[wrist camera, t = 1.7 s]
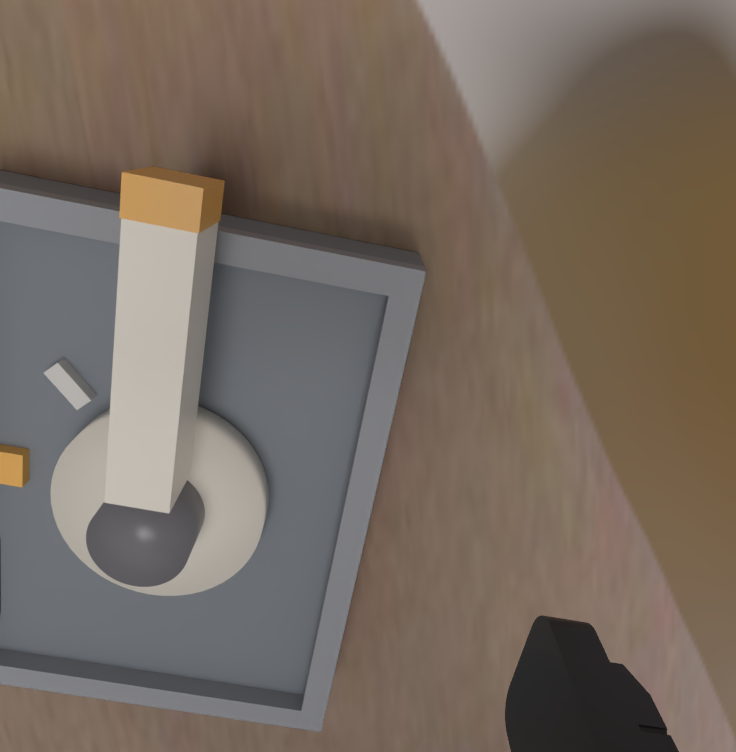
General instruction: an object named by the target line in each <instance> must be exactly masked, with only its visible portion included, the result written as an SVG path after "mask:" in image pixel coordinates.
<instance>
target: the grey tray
mask: <svg viewBox="0 0 736 752" xmlns="http://www.w3.org/2000/svg"><path fill="white" fill-rule="evenodd" d="M119 211H120V194H119V193H114V192H109V191H104V190H99V189H94V188H89V187H83V186H78V185H73V184H68V183H63V182H58V181H53V180H48V179H43V178H38V177H33V176H28V175H23V174H18V173H13V172H8V171H3V170H0V539H1V614H0V684H3V685H10V686H16V687H23V688H30V689H36V690H43V691H50V692H56V693H63V694H70V695H77V696H83V697H90V698H97V699H103V700H110V701H117V702H123V703H130V704H137V705H143V706H150V707H157V708H163V709H170V710H177V711H183V712H190V713H197V714H204V715H210V716H217V717H224V718H230V719H237V720H244V721H250V722H257V723H264V724H270V725H277V726H284V727H290V728H297V729H304V730H311V731H317V732H321V729H322V725H323V720H324V716H325V712H326V707H327V703H328V699H329V694H330V690H331V686H332V681H333V677H334V672H335V668H336V664H337V659H338V655H339V651H340V646H341V642H342V638H343V633H344V629H345V624H346V620H347V616H348V611H349V607H350V603H351V598H352V594H353V590H354V585H355V581H356V576H357V572H358V568H359V563H360V559H361V555H362V550H363V546H364V541H365V537H366V533H367V528H368V524H369V520H370V515H371V511H372V507H373V502H374V498H375V493H376V489H377V485H378V480H379V476H380V472H381V467H382V463H383V459H384V454H385V450H386V445H387V441H388V437H389V432H390V428H391V424H392V419H393V415H394V411H395V406H396V402H397V397H398V393H399V389H400V384H401V380H402V376H403V371H404V367H405V362H406V358H407V354H408V349H409V345H410V341H411V336H412V332H413V328H414V323H415V319H416V314H417V310H418V306H419V301H420V297H421V293H422V288H423V284H424V280H425V275H426V270H425V267H424V264H423V262H422V259H421V256H420V254H419V253H417V252H412V251H407V250H402V249H397V248H392V247H387V246H382V245H377V244H372V243H367V242H361V241H356V240H351V239H346V238H341V237H336V236H331V235H326V234H321V233H316V232H311V231H306V230H301V229H296V228H291V227H286V226H281V225H276V224H270V223H265V222H260V221H255V220H250V219H245V218H240V217H235V216H230V215H225V214H221V220H220V221H219V222H218V231H217V240H216V249H215V258H214V267H213V276H212V285H211V294H210V303H209V312H208V321H207V330H206V339H205V348H204V357H203V365H202V374H201V383H200V392H199V401H198V406H200V407H202V408H205V409H207V410H209V411H211V412H213V413H215V414H217V415H218V416H220V417H221V418H223V419H224V420H226V421H227V422H229V423H230V424H231V425H232V426H234V427H235V428H236V429H237V430H238V431H239V432H240V433H241V434H242V435H243V436H244V437H245V438H246V439H247V440H248V442H249V443H250V444H251V446H252V447H253V449H254V450H255V451H256V453H257V455H258V457H259V459H260V461H261V463H262V465H263V468H264V471H265V473H266V478H267V482H268V490H269V502H268V510H267V514H266V519H265V522H264V526H263V530H262V533H261V537H260V540H259V542H258V545H257V547H256V549H255V551H254V553H253V554H252V556H251V558H250V559H249V560H248V562H247V563H246V564H245V565H244V566H243V567H242V568H241V569H240V570H239V571H238V572H237V573H236V574H235V575H234V576H232V577H231V578H229V579H228V580H226V581H225V582H223V583H221V584H219V585H217V586H215V587H213V588H210V589H208V590H205V591H202V592H198V593H193V594H189V595H180V596H159V595H150V594H145V593H141V592H136V591H133V590H130V589H127V588H124V587H122V586H119V585H117V584H115V583H112V582H110V581H109V580H107V579H105V578H103V577H102V576H100V575H99V574H97V573H96V572H94V571H93V570H92V569H90V568H89V567H88V566H87V565H86V564H84V563H83V562H82V561H81V560H80V559H79V558H78V557H77V556H76V555H75V553H74V552H73V551H72V550H71V549H70V547H69V546H68V544H67V543H66V542H65V540H64V539H63V537H62V535H61V533H60V531H59V529H58V527H57V524H56V521H55V519H54V516H53V511H52V506H51V494H50V490H51V481H52V476H53V473H54V469H55V466H56V464H57V462H58V460H59V458H60V456H61V454H62V453H63V451H64V450H65V448H66V447H67V446H68V445H69V444H70V443H71V442H72V440H73V439H74V438H75V437H76V436H77V435H78V434H79V433H80V432H81V431H82V430H83V429H84V428H85V427H86V426H87V425H88V424H89V423H90V422H91V421H92V420H93V419H95V418H96V417H97V416H98V415H100V414H101V413H103V412H105V411H107V410H108V409H110V400H111V383H112V366H113V349H114V332H115V315H116V299H117V282H118V265H119V248H120V231H121V218H119Z"/></svg>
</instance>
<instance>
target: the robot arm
mask: <svg viewBox="0 0 736 752" xmlns="http://www.w3.org/2000/svg"><path fill="white" fill-rule="evenodd" d="M0 614H1V539H0ZM505 721H506V731H507V736H508V740H509V745H510V749H511V752H679V751H678V749H677V747H676V745H675V743H674V741H673V739H672V737H671V735H667V728H666V726H665V724H664V722H663V720H662V718H661V716H660V714H659V712H658V710H657V708H656V706H655V704H654V702H653V700H652V698H651V696H650V694H649V693H648V692H647V691H646V690H645V689H644V687H643V686H642V685H641V684H640V683H639V682H638V681H637V680H636V679H635V677H634V676H633V675H632V674H631V673H630V672H629V671H628V670H627V669H626V667H625V666H624V665H623V664H618V663H611V662H610V661H609V659H608V657H607V655H606V653H605V651H604V648H603V646H602V644H601V642H600V640H599V637H598V635H597V633H596V631H595V629H594V628H593V627H592V625H590V624H589V623H586V622H579V621H573V620H567V619H560V618H554V617H548V616H539V617H537V618H536V620H535V621H534V623H533V625H532V627H531V630H530V633H529V635H528V638H527V641H526V643H525V646H524V649H523V652H522V654H521V657H520V660H519V662H518V665H517V668H516V670H515V673H514V676H513V678H512V681H511V684H510V686H509V690H508V694H507V699H506V709H505Z"/></svg>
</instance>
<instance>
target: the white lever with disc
mask: <svg viewBox="0 0 736 752" xmlns="http://www.w3.org/2000/svg"><path fill="white" fill-rule="evenodd" d="M224 184H225V181H224V180H219V179H214V178H209V177H204V176H199V175H194V174H189V173H184V172H179V171H174V170H169V169H164V168H159V167H154V166H153V167H148V168H142V169H136V170H130V171H124V172H122V177H121V194H120V211H119V218H121V231H120V248H119V265H118V282H117V299H116V315H115V332H114V349H113V366H112V383H111V400H110V409H108V410H107V411H105V412H103V413H101V414H100V415H98V416H97V417H96V418H95V419H93V420H92V421H91V422H90V423H89V424H88V425H87V426H86V427H85V428H84V429H83V430H82V431H81V432H80V433H79V434H78V435H77V436H76V437H75V438H74V439H73V440H72V442H71V443H70V444H69V445H68V446H67V447H66V448H65V450H64V451H63V453H62V454H61V456H60V458H59V460H58V462H57V464H56V466H55V469H54V473H53V476H52V481H51V490H50V494H51V506H52V511H53V516H54V519H55V521H56V524H57V527H58V529H59V531H60V533H61V535H62V537H63V539H64V540H65V542H66V543H67V544H68V546H69V547H70V549H71V550H72V551H73V552H74V553H75V555H76V556H77V557H78V558H79V559H80V560H81V561H82V562H83V563H84V564H86V565H87V566H88V567H89V568H90V569H92V570H93V571H94V572H96V573H97V574H99V575H100V576H102V577H103V578H105V579H107V580H109V581H110V582H112V583H115V584H117V585H119V586H122V587H124V588H127V589H130V590H133V591H136V592H141V593H145V594H150V595H159V596H180V595H189V594H193V593H198V592H202V591H205V590H208V589H210V588H213V587H215V586H217V585H219V584H221V583H223V582H225V581H226V580H228V579H229V578H231V577H232V576H234V575H235V574H236V573H237V572H238V571H239V570H240V569H241V568H242V567H243V566H244V565H245V564H246V563H247V562H248V560H249V559H250V558H251V556H252V554H253V553H254V551H255V549H256V547H257V545H258V542H259V540H260V537H261V533H262V530H263V526H264V522H265V519H266V514H267V510H268V502H269V490H268V482H267V478H266V473H265V471H264V468H263V465H262V463H261V461H260V459H259V457H258V455H257V453H256V451H255V450H254V449H253V447H252V446H251V444H250V443H249V442H248V440H247V439H246V438H245V437H244V436H243V435H242V434H241V433H240V432H239V431H238V430H237V429H236V428H235V427H234V426H232V425H231V424H230V423H229V422H227V421H226V420H224V419H223V418H221V417H220V416H218V415H217V414H215V413H213V412H211V411H209V410H207V409H205V408H202V407H200V406H198V401H199V392H200V383H201V374H202V365H203V357H204V348H205V339H206V330H207V321H208V312H209V303H210V294H211V285H212V276H213V267H214V258H215V249H216V240H217V231H218V222H219V221H220V220H221V211H222V202H223V193H224Z"/></svg>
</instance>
